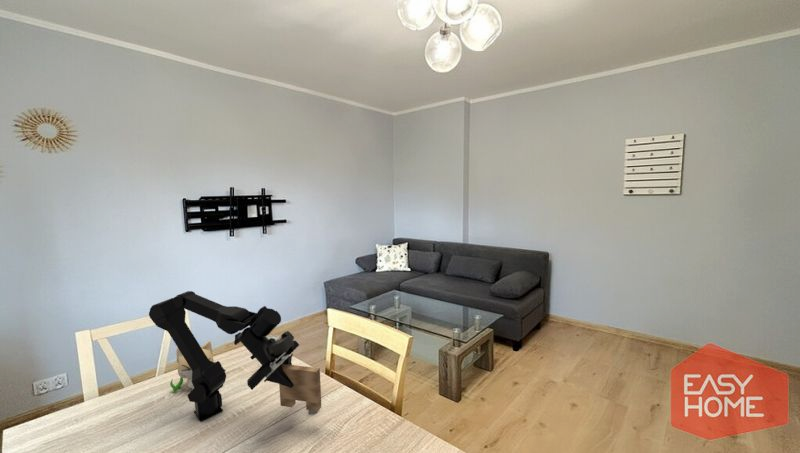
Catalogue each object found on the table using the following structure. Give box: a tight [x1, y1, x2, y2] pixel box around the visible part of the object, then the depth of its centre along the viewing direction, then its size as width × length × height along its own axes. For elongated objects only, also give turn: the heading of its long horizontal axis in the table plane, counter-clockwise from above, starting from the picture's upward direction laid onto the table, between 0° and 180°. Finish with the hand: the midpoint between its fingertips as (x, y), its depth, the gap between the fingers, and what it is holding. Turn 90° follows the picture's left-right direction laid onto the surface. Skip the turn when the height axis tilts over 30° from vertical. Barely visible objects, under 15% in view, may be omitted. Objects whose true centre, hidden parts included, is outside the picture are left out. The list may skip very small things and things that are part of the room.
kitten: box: [169, 340, 215, 393], centre depth 117 cm, size 15×10×15 cm
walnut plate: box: [278, 364, 322, 412], centre depth 95 cm, size 12×2×12 cm, turn 78°
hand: (294, 384), depth 95 cm, fingers closed on walnut plate, 2 cm apart
